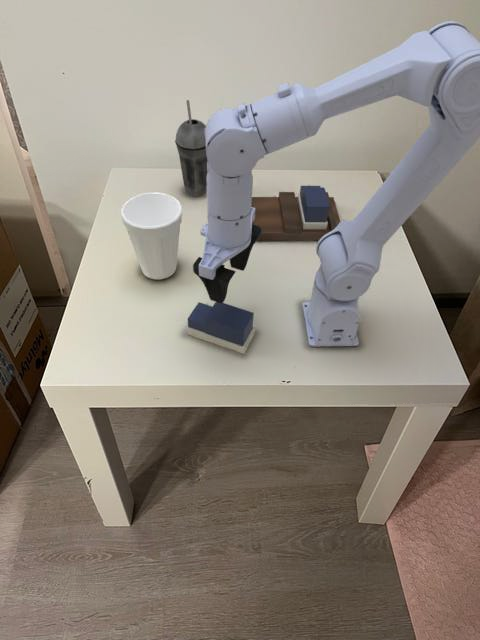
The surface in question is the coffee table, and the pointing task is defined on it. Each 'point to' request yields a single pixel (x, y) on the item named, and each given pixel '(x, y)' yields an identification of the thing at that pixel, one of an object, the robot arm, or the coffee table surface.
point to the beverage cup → (192, 155)
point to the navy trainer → (222, 325)
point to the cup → (154, 231)
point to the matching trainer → (313, 207)
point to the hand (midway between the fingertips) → (228, 283)
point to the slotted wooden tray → (288, 219)
